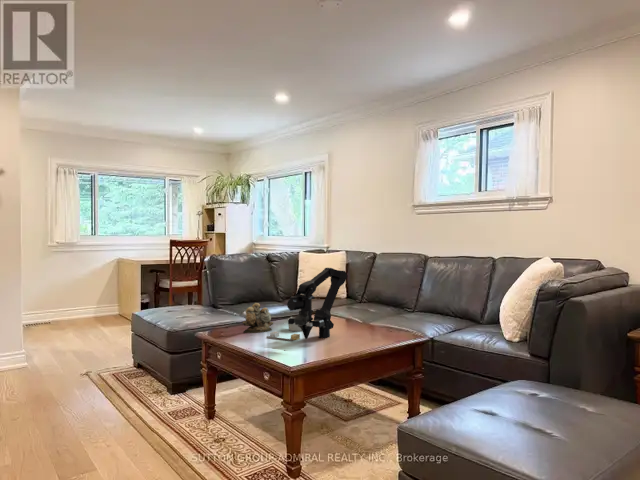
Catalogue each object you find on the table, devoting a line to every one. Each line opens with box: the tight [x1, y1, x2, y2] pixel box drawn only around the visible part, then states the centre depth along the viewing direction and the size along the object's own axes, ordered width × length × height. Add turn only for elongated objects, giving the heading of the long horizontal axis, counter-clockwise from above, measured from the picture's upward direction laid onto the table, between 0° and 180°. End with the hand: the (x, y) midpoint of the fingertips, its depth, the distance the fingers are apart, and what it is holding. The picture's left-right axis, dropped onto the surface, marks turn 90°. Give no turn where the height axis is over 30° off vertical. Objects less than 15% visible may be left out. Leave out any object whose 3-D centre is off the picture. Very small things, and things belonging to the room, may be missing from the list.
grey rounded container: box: [287, 316, 302, 332], centre depth 257 cm, size 14×11×8 cm
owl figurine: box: [242, 302, 274, 334], centre depth 254 cm, size 18×12×17 cm, turn 120°
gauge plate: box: [266, 335, 294, 342], centre depth 236 cm, size 14×19×2 cm
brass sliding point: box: [289, 333, 301, 342], centre depth 231 cm, size 5×3×2 cm, turn 151°
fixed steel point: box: [269, 331, 280, 338], centre depth 237 cm, size 6×3×2 cm, turn 151°
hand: (306, 338), depth 229 cm, fingers closed
